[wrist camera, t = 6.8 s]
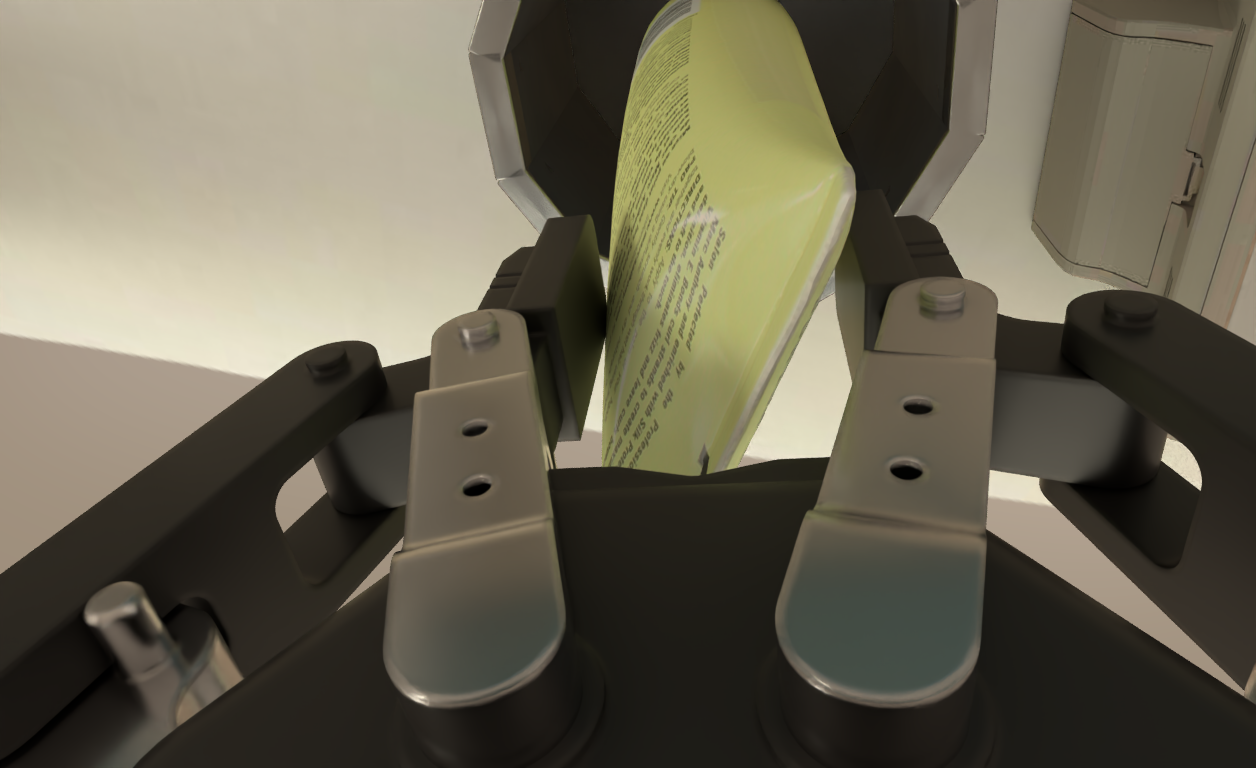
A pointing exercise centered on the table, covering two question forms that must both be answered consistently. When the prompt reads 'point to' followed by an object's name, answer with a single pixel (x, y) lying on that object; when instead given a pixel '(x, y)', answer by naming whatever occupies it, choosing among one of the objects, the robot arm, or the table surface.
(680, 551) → the robot arm
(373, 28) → the table surface
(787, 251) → the yellow elongated tapered cylinder
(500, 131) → the pail
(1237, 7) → the digital clock
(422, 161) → the table surface
